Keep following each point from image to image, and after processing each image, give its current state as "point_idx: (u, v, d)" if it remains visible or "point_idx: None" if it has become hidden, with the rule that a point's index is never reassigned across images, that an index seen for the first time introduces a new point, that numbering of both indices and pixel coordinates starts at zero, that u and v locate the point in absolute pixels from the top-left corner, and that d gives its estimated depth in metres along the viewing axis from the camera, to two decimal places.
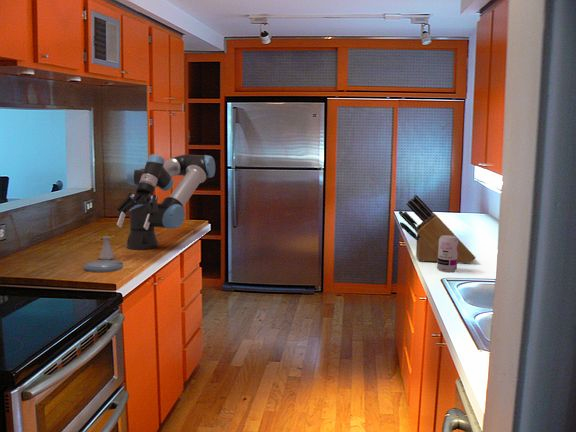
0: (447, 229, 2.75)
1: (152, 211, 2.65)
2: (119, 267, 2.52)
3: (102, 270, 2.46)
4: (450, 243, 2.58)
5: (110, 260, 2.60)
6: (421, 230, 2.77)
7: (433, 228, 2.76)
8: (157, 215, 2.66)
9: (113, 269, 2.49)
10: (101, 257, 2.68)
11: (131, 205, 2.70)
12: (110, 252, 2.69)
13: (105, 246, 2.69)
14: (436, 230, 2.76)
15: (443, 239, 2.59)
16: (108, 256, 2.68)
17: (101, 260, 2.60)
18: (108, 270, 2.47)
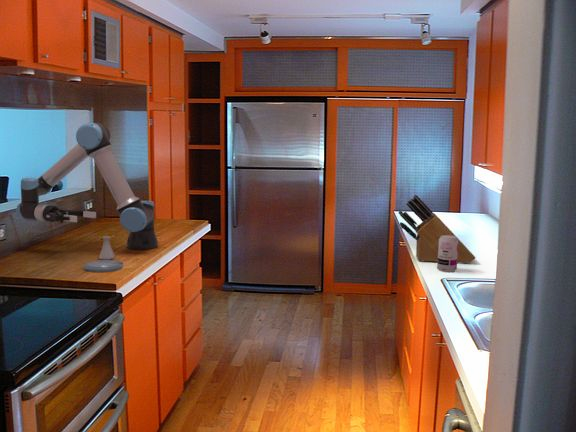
0: (447, 229, 2.75)
1: None
2: (119, 267, 2.52)
3: (102, 270, 2.46)
4: (450, 243, 2.58)
5: (110, 260, 2.60)
6: (421, 230, 2.77)
7: (433, 228, 2.76)
8: (58, 216, 2.65)
9: (113, 269, 2.49)
10: (101, 257, 2.68)
11: (72, 214, 2.79)
12: (110, 252, 2.69)
13: (105, 246, 2.69)
14: (436, 230, 2.76)
15: (443, 239, 2.59)
16: (108, 256, 2.68)
17: (101, 260, 2.60)
18: (108, 270, 2.47)
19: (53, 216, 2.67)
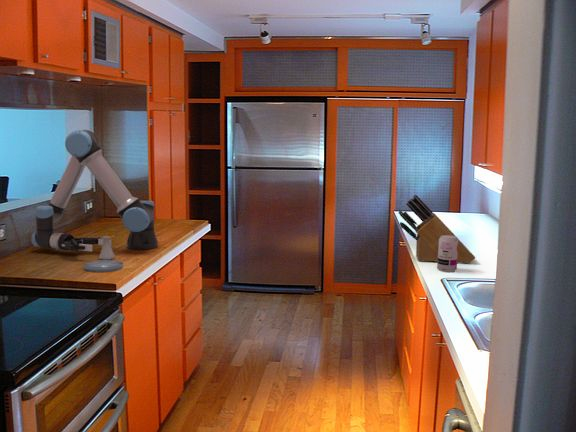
0: (447, 229, 2.75)
1: None
2: (119, 267, 2.52)
3: (102, 270, 2.46)
4: (450, 243, 2.58)
5: (110, 260, 2.60)
6: (421, 230, 2.77)
7: (433, 228, 2.76)
8: (73, 245, 2.64)
9: (113, 269, 2.49)
10: (101, 257, 2.68)
11: (87, 242, 2.78)
12: (110, 252, 2.69)
13: (105, 246, 2.69)
14: (436, 230, 2.76)
15: (443, 239, 2.59)
16: (108, 256, 2.68)
17: (101, 260, 2.60)
18: (108, 270, 2.47)
19: (68, 245, 2.66)
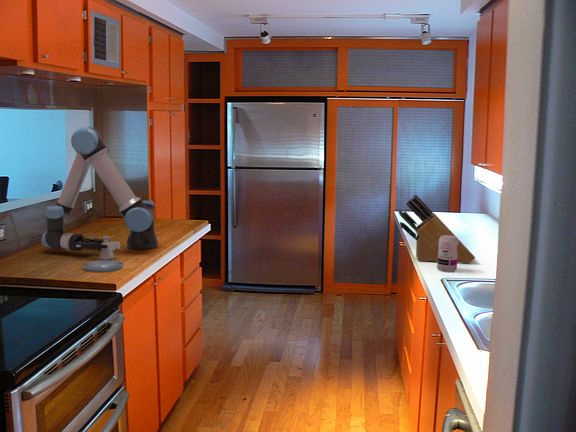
0: (447, 229, 2.76)
1: None
2: (119, 267, 2.52)
3: (102, 270, 2.46)
4: (450, 243, 2.58)
5: (110, 260, 2.60)
6: (420, 230, 2.77)
7: (432, 228, 2.76)
8: (96, 244, 2.66)
9: (113, 269, 2.49)
10: (101, 257, 2.68)
11: None
12: (110, 252, 2.69)
13: None
14: (436, 230, 2.76)
15: (443, 239, 2.59)
16: (108, 256, 2.68)
17: (101, 260, 2.60)
18: (108, 270, 2.47)
19: (89, 245, 2.67)
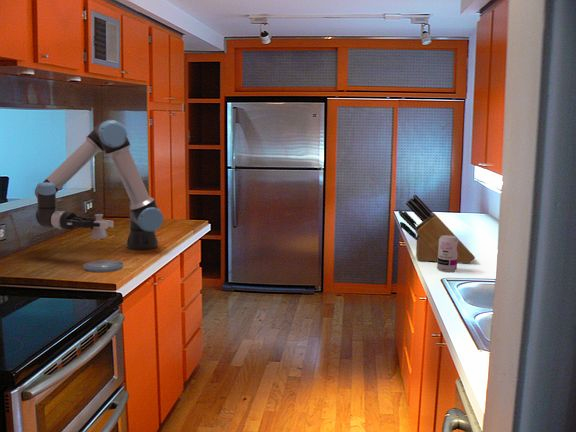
0: (446, 229, 2.76)
1: None
2: (119, 267, 2.52)
3: (102, 270, 2.46)
4: (450, 243, 2.58)
5: (110, 260, 2.60)
6: (420, 230, 2.77)
7: (432, 228, 2.77)
8: (88, 222, 2.51)
9: (113, 269, 2.49)
10: (93, 236, 2.53)
11: None
12: (103, 231, 2.54)
13: None
14: (435, 230, 2.76)
15: (443, 239, 2.59)
16: (100, 235, 2.53)
17: (101, 260, 2.60)
18: (108, 270, 2.47)
19: (80, 223, 2.51)
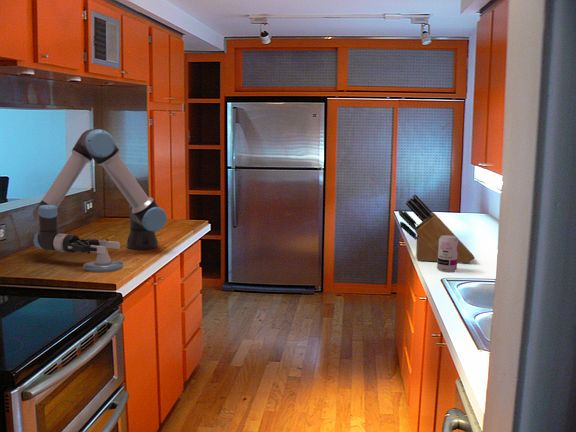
0: (446, 229, 2.76)
1: None
2: (119, 267, 2.52)
3: (102, 270, 2.46)
4: (450, 243, 2.58)
5: None
6: (420, 229, 2.78)
7: (432, 228, 2.77)
8: (85, 247, 2.46)
9: (113, 269, 2.49)
10: (97, 262, 2.51)
11: (93, 244, 2.58)
12: (106, 257, 2.52)
13: None
14: (435, 230, 2.77)
15: (443, 239, 2.59)
16: (104, 261, 2.51)
17: None
18: (108, 270, 2.47)
19: (78, 247, 2.48)
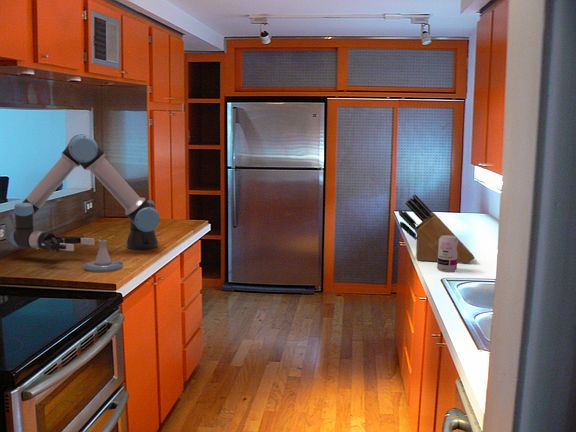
0: (446, 229, 2.76)
1: None
2: (119, 267, 2.52)
3: (102, 270, 2.46)
4: (450, 243, 2.58)
5: None
6: (420, 229, 2.78)
7: (431, 228, 2.77)
8: (53, 244, 2.49)
9: (113, 269, 2.49)
10: (97, 262, 2.51)
11: (69, 241, 2.63)
12: (106, 257, 2.52)
13: (101, 250, 2.52)
14: (435, 230, 2.77)
15: (443, 239, 2.59)
16: (104, 261, 2.51)
17: None
18: (108, 270, 2.47)
19: (48, 244, 2.51)
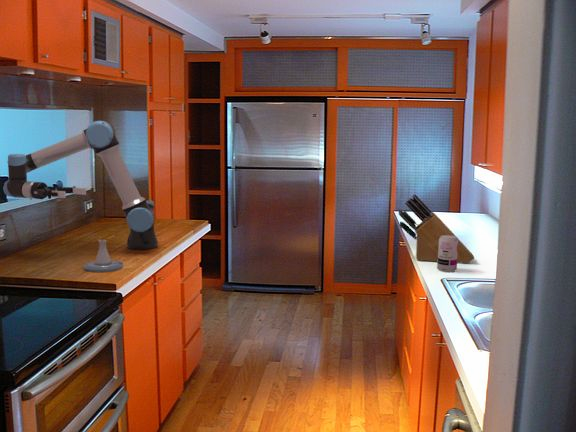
0: (445, 229, 2.76)
1: None
2: (119, 267, 2.52)
3: (102, 270, 2.46)
4: (450, 243, 2.58)
5: None
6: (419, 229, 2.78)
7: (431, 228, 2.77)
8: (46, 191, 2.54)
9: (113, 269, 2.49)
10: (97, 262, 2.51)
11: (61, 191, 2.68)
12: (106, 257, 2.52)
13: (101, 250, 2.52)
14: (435, 229, 2.77)
15: (443, 239, 2.59)
16: (104, 261, 2.51)
17: None
18: (108, 270, 2.47)
19: (41, 192, 2.56)
